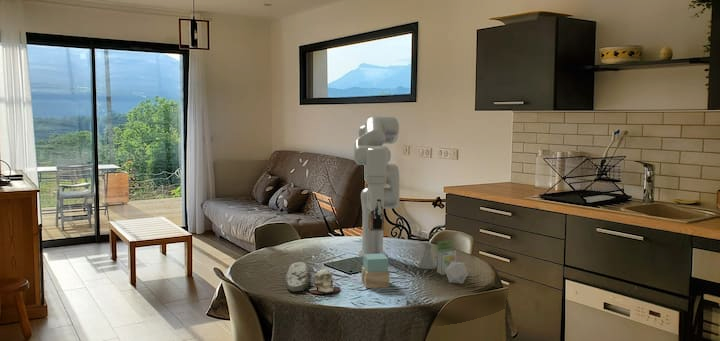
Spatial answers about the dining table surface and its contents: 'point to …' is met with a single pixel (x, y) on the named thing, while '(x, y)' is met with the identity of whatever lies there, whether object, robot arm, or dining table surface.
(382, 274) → the bottom block
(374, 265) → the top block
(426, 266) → the flask
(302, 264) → the elongated rock
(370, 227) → the walnut block
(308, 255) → the dining table surface
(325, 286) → the skull
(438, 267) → the ink box
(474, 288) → the dining table surface
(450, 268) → the die
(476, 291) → the dining table surface
